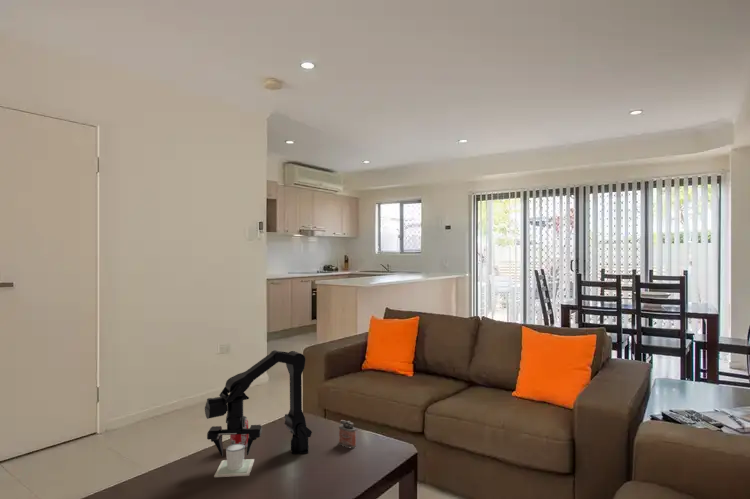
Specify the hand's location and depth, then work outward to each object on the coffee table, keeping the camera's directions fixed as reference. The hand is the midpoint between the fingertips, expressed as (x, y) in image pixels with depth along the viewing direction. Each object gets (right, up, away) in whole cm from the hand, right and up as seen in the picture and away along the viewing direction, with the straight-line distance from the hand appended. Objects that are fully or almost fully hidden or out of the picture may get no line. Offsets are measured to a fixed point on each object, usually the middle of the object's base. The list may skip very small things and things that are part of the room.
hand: (234, 455), depth 168 cm
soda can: (-4, -5, +18) cm, 19 cm away
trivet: (0, -5, 0) cm, 5 cm away
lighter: (+40, -6, +21) cm, 46 cm away
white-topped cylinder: (0, -4, 0) cm, 4 cm away
